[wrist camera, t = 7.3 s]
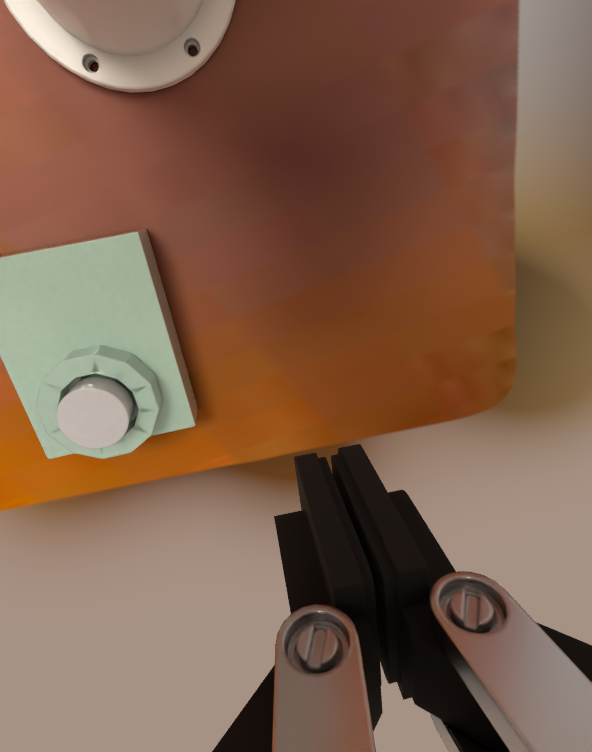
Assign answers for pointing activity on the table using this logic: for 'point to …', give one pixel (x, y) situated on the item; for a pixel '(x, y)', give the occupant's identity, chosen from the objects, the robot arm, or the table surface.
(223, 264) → the table surface
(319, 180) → the table surface
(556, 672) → the robot arm
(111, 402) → the grey push button
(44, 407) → the green push button box
